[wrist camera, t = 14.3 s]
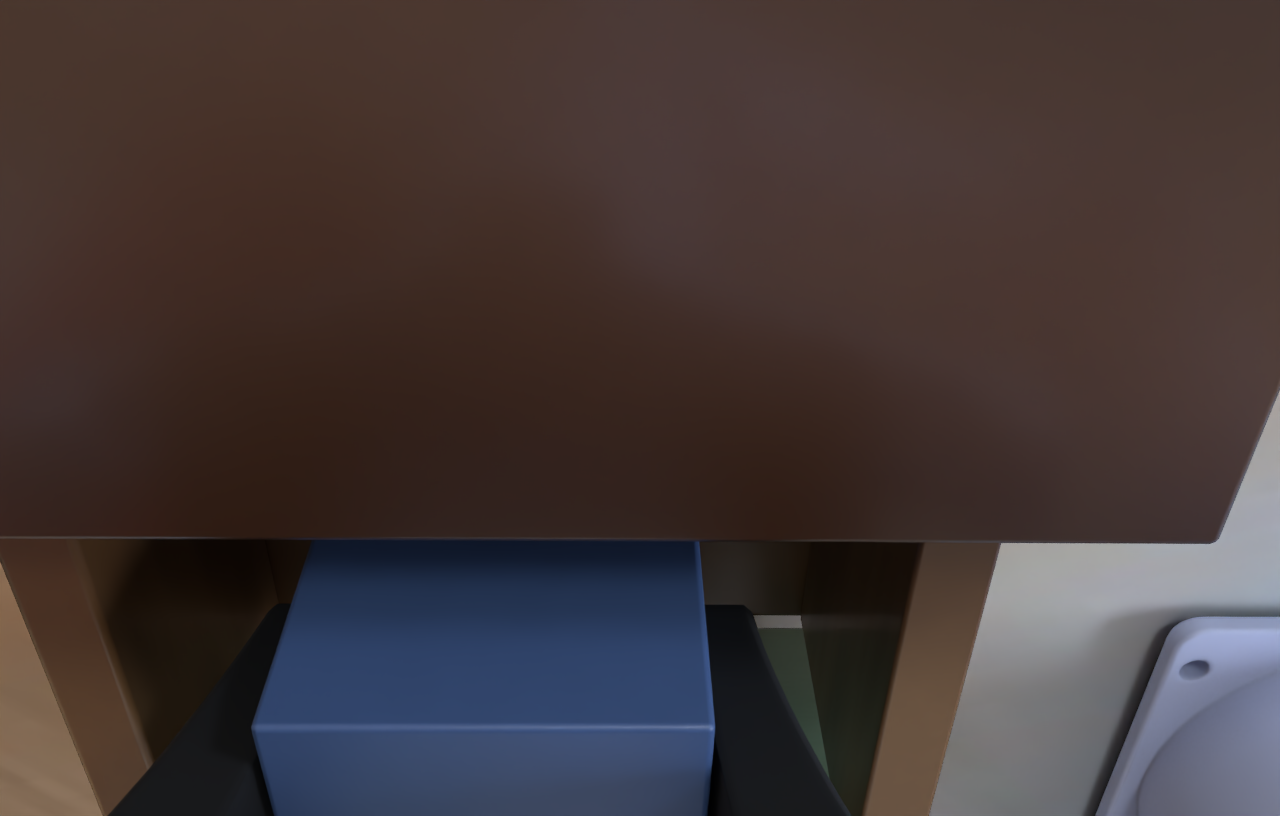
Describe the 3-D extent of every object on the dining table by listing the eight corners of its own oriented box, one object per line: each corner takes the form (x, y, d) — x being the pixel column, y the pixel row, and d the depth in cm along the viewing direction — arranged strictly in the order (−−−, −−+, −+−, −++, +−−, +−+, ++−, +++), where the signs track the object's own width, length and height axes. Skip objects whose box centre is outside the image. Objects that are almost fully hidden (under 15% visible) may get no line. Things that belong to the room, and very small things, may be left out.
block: (677, 685, 15) (694, 977, 12) (379, 685, 15) (315, 979, 12) (692, 448, 13) (716, 728, 10) (339, 445, 13) (247, 729, 10)
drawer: (834, 825, 23) (891, 1151, 18) (275, 825, 22) (182, 1156, 18) (1008, -88, 13) (1235, 91, 8) (26, -105, 13) (-329, 71, 8)
